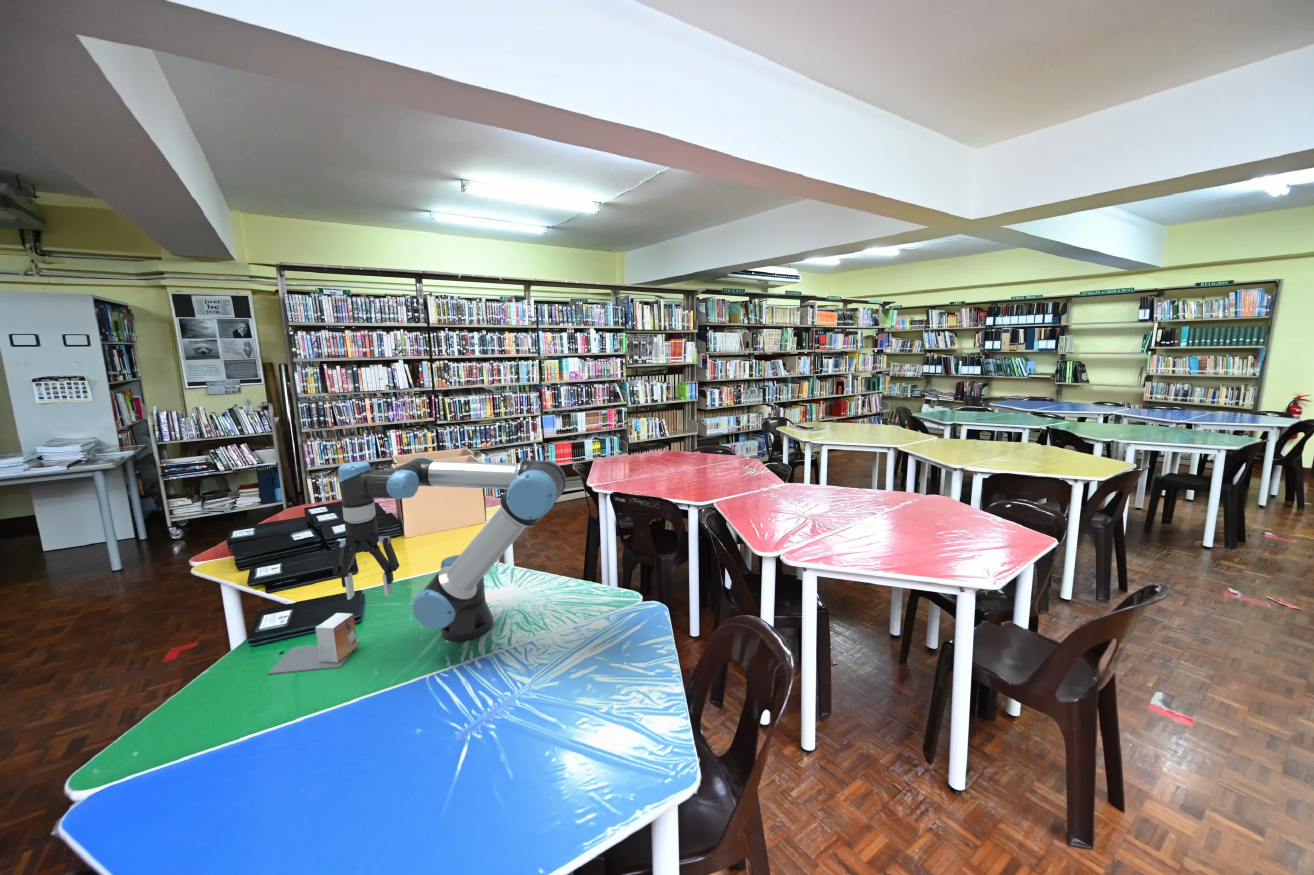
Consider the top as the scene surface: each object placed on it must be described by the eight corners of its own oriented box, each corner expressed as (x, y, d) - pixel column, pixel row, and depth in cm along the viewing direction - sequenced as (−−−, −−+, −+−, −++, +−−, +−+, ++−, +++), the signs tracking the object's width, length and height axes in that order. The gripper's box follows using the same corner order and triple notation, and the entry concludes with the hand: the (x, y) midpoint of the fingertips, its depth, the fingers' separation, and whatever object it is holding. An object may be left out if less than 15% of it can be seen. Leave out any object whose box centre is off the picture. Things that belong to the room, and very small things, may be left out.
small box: (337, 663, 137) (332, 628, 135) (319, 662, 138) (314, 627, 136) (358, 646, 145) (354, 613, 143) (341, 645, 146) (336, 612, 144)
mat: (359, 642, 148) (359, 641, 148) (340, 667, 136) (340, 666, 136) (293, 648, 145) (292, 647, 145) (267, 674, 134) (267, 673, 133)
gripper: (407, 512, 141) (415, 586, 145) (323, 516, 138) (334, 592, 142) (397, 520, 134) (406, 598, 138) (309, 526, 131) (320, 605, 135)
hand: (369, 595), depth 140 cm, fingers open, 9 cm apart
